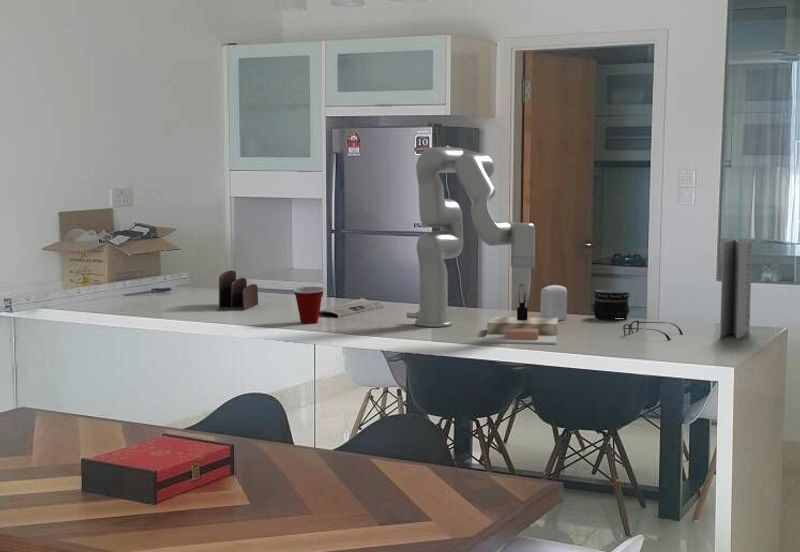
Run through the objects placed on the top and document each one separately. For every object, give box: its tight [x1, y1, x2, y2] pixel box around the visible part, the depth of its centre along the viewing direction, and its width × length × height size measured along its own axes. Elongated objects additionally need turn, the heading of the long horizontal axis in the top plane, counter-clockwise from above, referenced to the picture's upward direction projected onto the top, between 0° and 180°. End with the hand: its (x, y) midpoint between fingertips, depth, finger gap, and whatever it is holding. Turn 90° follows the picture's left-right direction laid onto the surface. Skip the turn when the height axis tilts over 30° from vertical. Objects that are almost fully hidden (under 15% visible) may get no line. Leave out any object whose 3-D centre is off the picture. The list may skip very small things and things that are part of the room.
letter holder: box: [218, 269, 259, 312], centre depth 411 cm, size 10×20×14 cm, turn 172°
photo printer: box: [539, 284, 568, 321], centre depth 374 cm, size 10×4×12 cm, turn 123°
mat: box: [482, 333, 558, 346], centre depth 331 cm, size 22×14×1 cm, turn 81°
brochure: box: [719, 239, 753, 340], centre depth 339 cm, size 14×6×30 cm, turn 148°
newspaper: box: [319, 297, 386, 319], centre depth 399 cm, size 35×12×4 cm, turn 151°
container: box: [592, 289, 631, 321], centre depth 379 cm, size 13×13×10 cm
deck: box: [486, 316, 559, 337], centre depth 346 cm, size 22×14×4 cm, turn 81°
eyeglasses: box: [622, 320, 684, 341], centre depth 340 cm, size 16×16×4 cm
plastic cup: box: [292, 286, 325, 325], centre depth 368 cm, size 11×11×12 cm
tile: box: [505, 328, 539, 340], centre depth 331 cm, size 10×7×2 cm
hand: (522, 319), depth 338 cm, fingers closed
